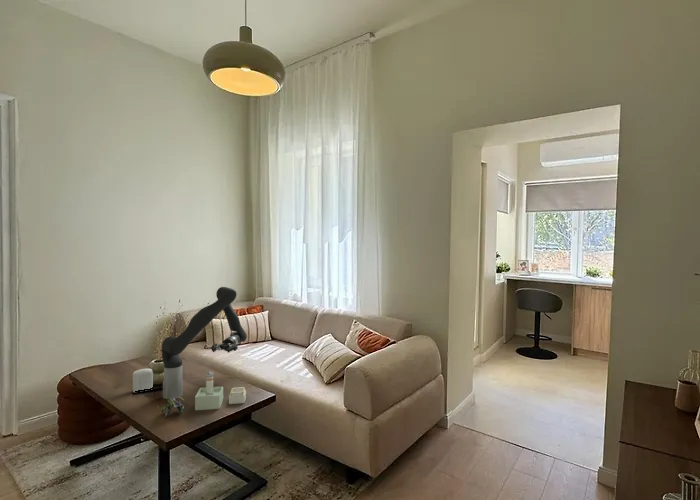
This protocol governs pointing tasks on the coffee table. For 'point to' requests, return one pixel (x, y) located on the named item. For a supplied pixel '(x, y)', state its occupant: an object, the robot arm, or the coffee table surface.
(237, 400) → the fuse holder
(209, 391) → the fuse
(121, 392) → the coffee table surface
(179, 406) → the passion flower
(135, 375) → the photo printer
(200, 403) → the tray
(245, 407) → the coffee table surface
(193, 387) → the coffee table surface
